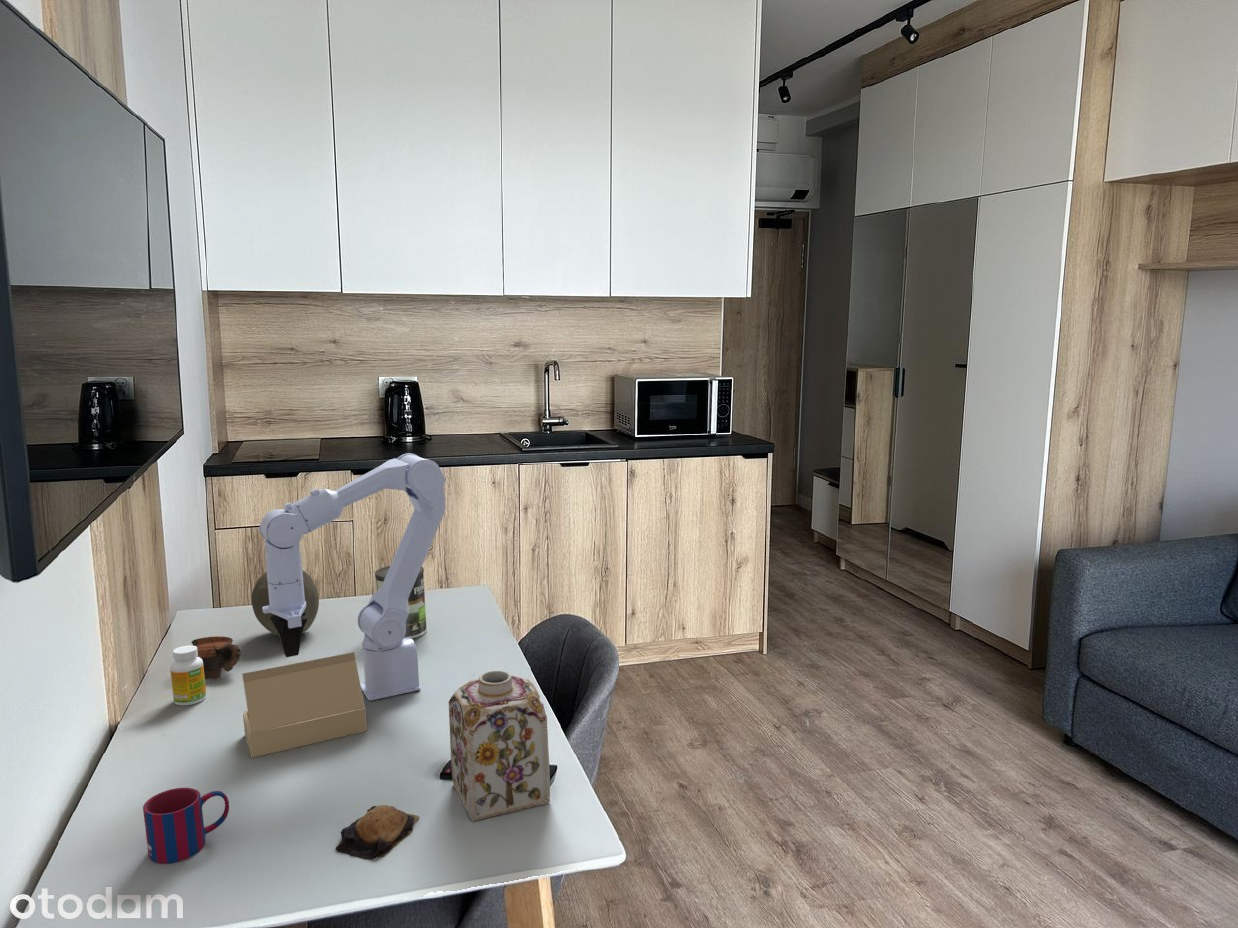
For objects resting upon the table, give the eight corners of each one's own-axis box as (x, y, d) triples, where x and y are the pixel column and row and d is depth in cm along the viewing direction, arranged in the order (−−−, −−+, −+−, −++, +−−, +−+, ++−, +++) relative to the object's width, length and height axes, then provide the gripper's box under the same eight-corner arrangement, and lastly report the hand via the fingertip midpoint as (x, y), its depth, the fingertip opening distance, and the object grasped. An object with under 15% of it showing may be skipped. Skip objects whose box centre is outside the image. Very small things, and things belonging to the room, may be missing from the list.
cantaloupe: (334, 625, 200) (329, 560, 198) (298, 648, 187) (292, 579, 184) (278, 621, 203) (273, 557, 201) (239, 644, 190) (232, 575, 187)
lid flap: (353, 652, 152) (354, 651, 151) (364, 707, 149) (364, 706, 148) (242, 674, 144) (242, 673, 143) (250, 733, 140) (251, 732, 140)
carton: (354, 710, 157) (353, 688, 156) (367, 730, 149) (365, 708, 149) (244, 734, 149) (242, 712, 148) (251, 757, 141) (249, 734, 140)
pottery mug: (174, 683, 171) (176, 640, 174) (211, 686, 180) (212, 645, 183) (224, 673, 168) (226, 629, 171) (260, 677, 176) (260, 635, 179)
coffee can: (431, 624, 200) (428, 563, 198) (421, 640, 190) (417, 577, 187) (386, 624, 200) (382, 563, 198) (372, 641, 190) (368, 577, 188)
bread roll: (373, 812, 126) (371, 787, 125) (425, 821, 123) (424, 797, 123) (326, 854, 116) (324, 828, 116) (382, 866, 113) (380, 839, 113)
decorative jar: (451, 783, 132) (445, 668, 129) (526, 766, 137) (522, 655, 134) (471, 824, 121) (464, 700, 118) (552, 805, 126) (548, 684, 123)
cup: (148, 842, 119) (143, 795, 117) (230, 821, 123) (225, 776, 122) (148, 869, 113) (142, 820, 112) (234, 847, 117) (229, 799, 116)
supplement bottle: (193, 707, 159) (188, 655, 158) (167, 705, 160) (161, 653, 159) (212, 694, 165) (207, 644, 163) (187, 692, 166) (181, 642, 164)
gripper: (254, 572, 157) (261, 646, 160) (266, 594, 145) (273, 673, 147) (296, 566, 161) (302, 638, 163) (311, 587, 148) (317, 665, 151)
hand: (291, 654), depth 155 cm, fingers closed
